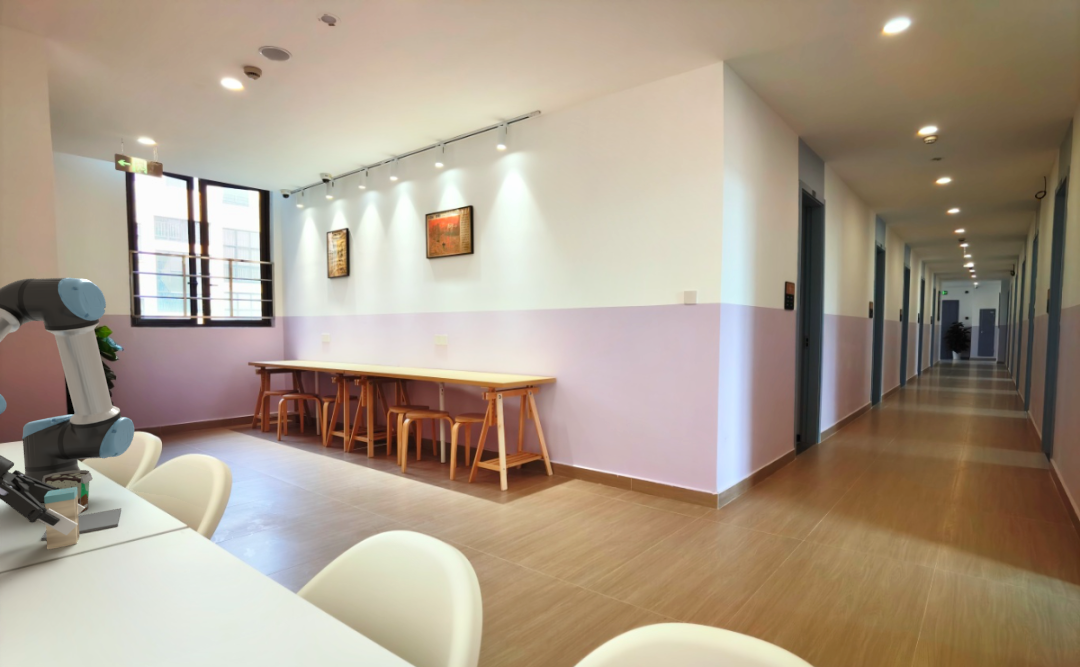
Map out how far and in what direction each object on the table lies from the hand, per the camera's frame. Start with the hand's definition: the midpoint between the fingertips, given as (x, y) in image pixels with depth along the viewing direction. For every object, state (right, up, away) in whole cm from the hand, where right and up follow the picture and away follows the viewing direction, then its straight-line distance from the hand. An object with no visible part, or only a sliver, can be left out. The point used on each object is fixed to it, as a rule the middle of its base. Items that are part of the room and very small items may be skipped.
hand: (76, 520), depth 125 cm
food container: (-19, -5, +22) cm, 30 cm away
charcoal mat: (-7, -4, +10) cm, 13 cm away
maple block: (-2, -5, -1) cm, 5 cm away
